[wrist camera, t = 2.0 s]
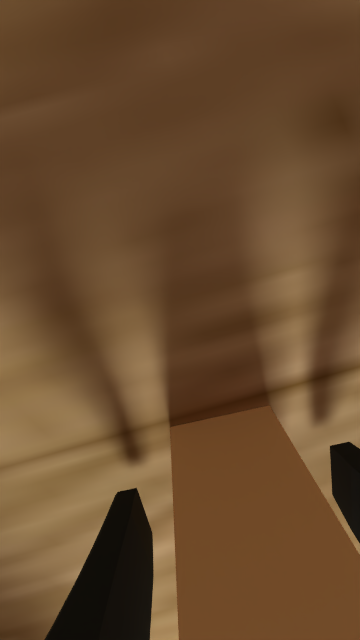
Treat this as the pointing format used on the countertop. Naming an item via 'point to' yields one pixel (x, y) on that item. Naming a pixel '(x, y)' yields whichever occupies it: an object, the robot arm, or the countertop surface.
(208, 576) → the tan cardboard-like brick
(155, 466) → the countertop surface
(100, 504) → the countertop surface
